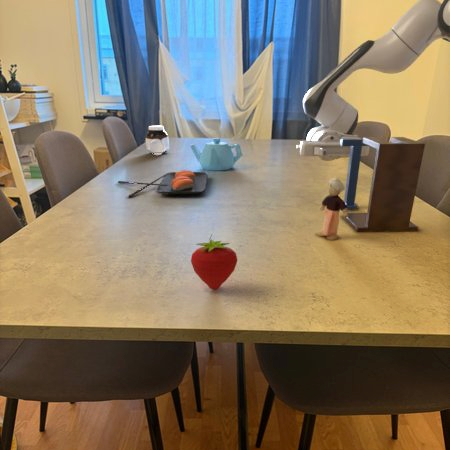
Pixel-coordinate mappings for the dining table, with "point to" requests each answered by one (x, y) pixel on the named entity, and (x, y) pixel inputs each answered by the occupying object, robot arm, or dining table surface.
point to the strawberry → (214, 263)
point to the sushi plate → (178, 183)
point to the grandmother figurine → (333, 209)
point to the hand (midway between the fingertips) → (340, 152)
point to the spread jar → (157, 140)
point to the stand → (391, 186)
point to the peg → (352, 170)
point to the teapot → (217, 155)
